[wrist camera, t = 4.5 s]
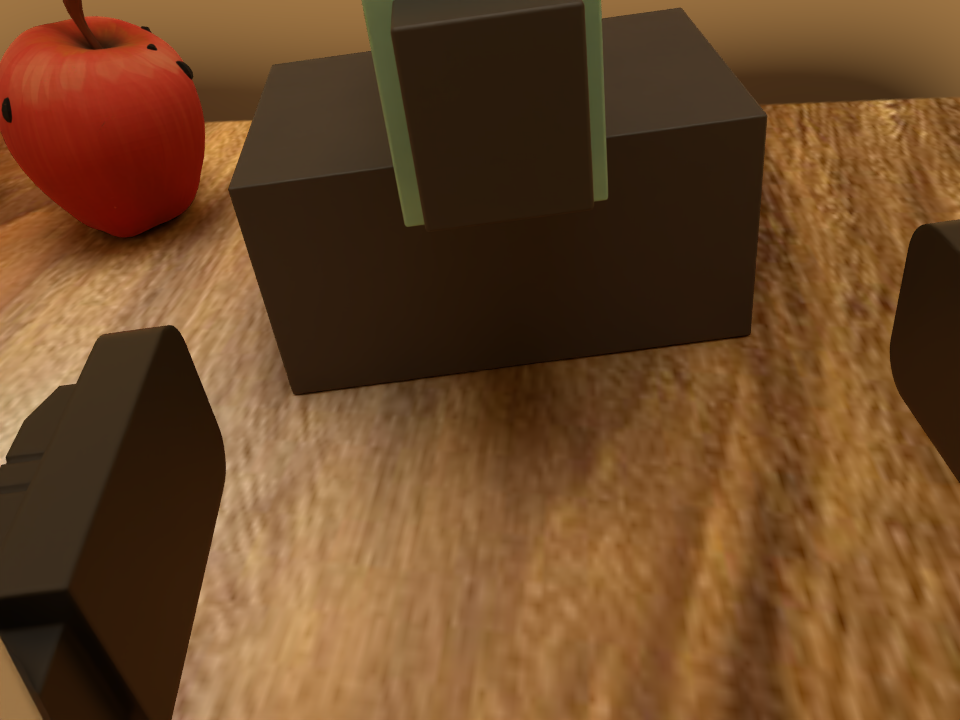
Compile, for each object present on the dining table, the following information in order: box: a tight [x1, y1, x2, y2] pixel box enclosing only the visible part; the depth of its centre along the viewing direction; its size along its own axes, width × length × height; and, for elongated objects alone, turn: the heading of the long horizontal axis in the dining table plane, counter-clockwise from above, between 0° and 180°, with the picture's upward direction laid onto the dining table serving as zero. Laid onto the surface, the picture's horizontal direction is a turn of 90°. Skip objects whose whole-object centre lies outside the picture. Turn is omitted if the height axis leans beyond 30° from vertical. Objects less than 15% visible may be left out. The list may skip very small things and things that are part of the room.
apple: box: [0, 0, 205, 237], centre depth 30 cm, size 8×7×10 cm
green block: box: [362, 0, 608, 232], centre depth 20 cm, size 12×4×5 cm, turn 3°
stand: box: [228, 8, 767, 394], centre depth 25 cm, size 12×8×6 cm, turn 93°
